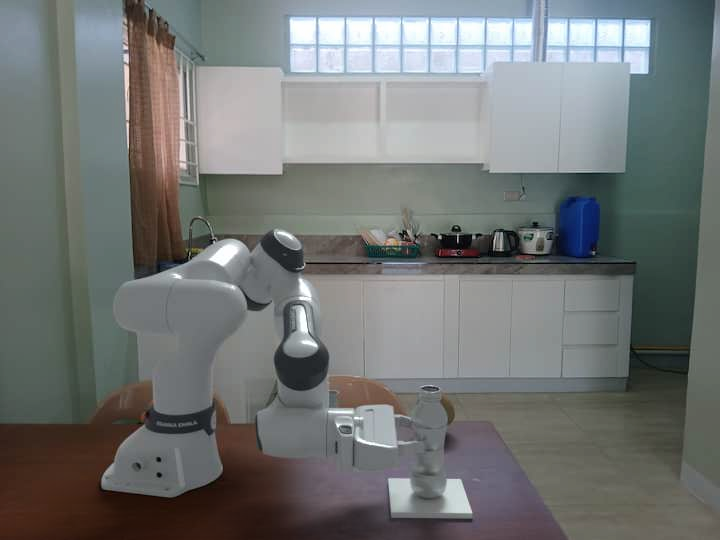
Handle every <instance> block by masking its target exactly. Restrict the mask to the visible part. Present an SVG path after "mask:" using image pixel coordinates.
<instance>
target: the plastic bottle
mask: <svg viewBox="0 0 720 540" xmlns="http://www.w3.org/2000/svg"><path fill="white" fill-rule="evenodd" d="M441 390H442V389H441V387H439V386H436V385H423V386H420V389H419V395H418V399H420V402H419V403H418V404H417V403H416V404H417V405H416V404H415V407H414V408H413V410H411V415H410V418H411V422H412V423H411V424H412V437H413V438H412V439H413V440H414V439H422V440H423V441H424V452H422V453H416V452H414V453H413V454H412V455H413V459H412V468H411V470H410V476H409V478H410V485H411V489H412V490H413V492H414V493H415V494H416V495H417V496H419V497H422V498H428V499H433V498H438V497H440V496H441V495H442V494H443V493H444V492H445V490H446V485H447V479H448V478H447V472H446V469H445V453H444V452H445V448H444V447H445V442H446V441H445V439H446V432H447V429H448V428H447V427H448V426H447V421H448V417H447V413H446V411H445V410H444V408H443V406H442V405H441V404H440V402H439V401H440V400H441V393H442V392H441ZM413 440H412V441H413Z"/></svg>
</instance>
